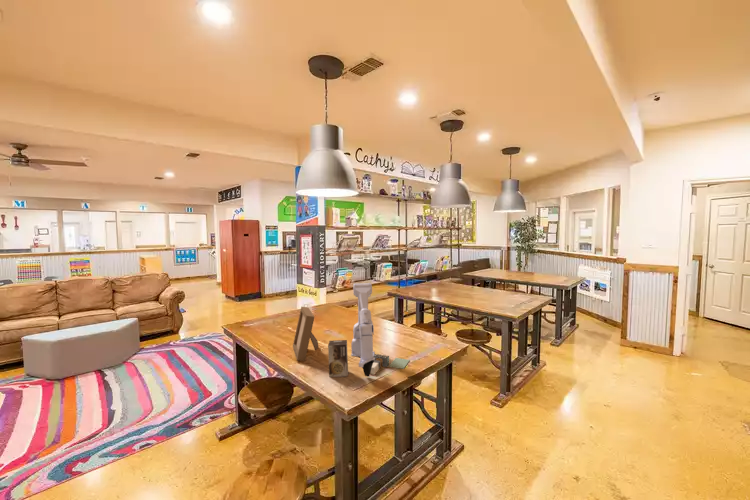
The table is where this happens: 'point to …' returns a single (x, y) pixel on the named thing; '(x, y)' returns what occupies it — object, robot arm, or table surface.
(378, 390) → the table surface
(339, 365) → the coffee box
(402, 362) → the mat
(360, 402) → the table surface
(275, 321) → the table surface
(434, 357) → the table surface
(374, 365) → the plug
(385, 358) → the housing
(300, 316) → the photo frame
